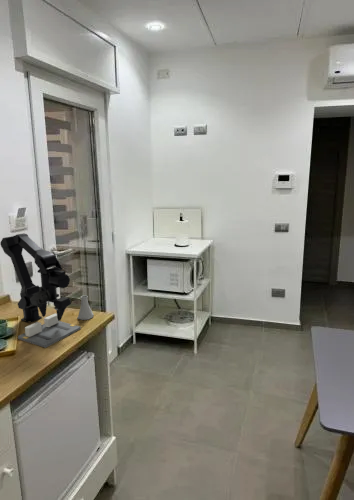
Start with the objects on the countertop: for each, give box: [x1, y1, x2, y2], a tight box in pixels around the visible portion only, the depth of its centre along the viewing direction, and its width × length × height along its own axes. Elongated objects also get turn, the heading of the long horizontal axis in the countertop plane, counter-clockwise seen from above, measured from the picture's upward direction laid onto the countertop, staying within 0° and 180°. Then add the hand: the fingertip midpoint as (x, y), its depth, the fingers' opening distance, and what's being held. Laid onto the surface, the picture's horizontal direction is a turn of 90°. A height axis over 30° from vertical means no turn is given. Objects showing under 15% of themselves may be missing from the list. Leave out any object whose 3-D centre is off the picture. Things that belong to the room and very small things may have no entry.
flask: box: [77, 295, 94, 321], centre depth 165 cm, size 7×7×10 cm
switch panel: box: [17, 320, 82, 349], centre depth 149 cm, size 16×19×1 cm
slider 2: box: [43, 313, 61, 327], centre depth 155 cm, size 2×6×4 cm, turn 151°
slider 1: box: [24, 321, 42, 337], centre depth 146 cm, size 2×6×4 cm, turn 151°
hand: (51, 318), depth 155 cm, fingers open, 9 cm apart
